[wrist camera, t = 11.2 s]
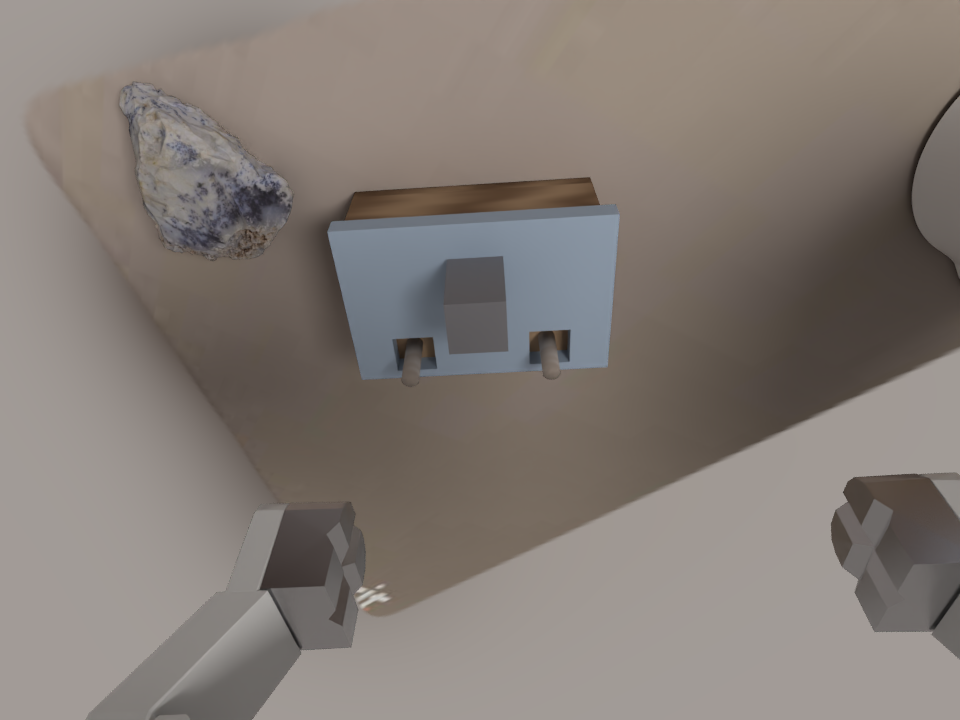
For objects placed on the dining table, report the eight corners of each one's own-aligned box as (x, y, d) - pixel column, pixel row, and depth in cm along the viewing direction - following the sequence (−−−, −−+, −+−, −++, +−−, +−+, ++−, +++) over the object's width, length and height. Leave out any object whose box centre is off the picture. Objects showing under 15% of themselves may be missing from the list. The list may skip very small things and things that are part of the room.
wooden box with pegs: (590, 177, 37) (614, 246, 30) (583, 304, 43) (603, 386, 36) (354, 192, 38) (328, 263, 31) (379, 316, 43) (361, 399, 37)
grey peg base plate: (615, 204, 33) (637, 257, 28) (604, 355, 39) (620, 417, 35) (331, 221, 33) (309, 275, 29) (364, 367, 40) (350, 430, 35)
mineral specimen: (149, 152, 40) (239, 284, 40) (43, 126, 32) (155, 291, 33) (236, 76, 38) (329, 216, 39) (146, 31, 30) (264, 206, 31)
